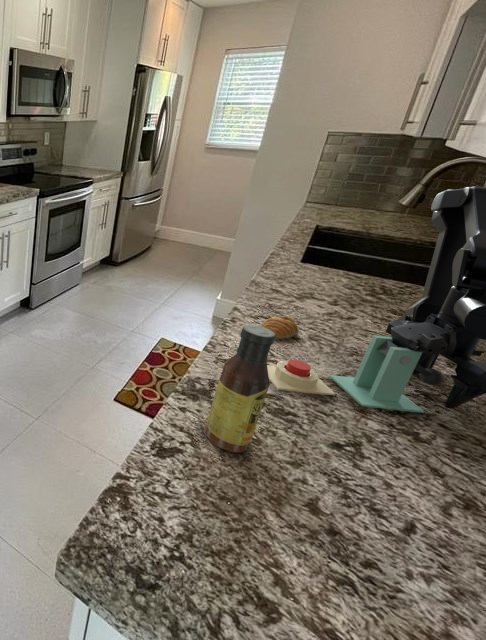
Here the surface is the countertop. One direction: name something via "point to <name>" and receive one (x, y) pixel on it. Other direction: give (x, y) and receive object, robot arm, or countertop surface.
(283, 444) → the countertop surface
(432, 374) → the press lever
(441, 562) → the countertop surface
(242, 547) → the countertop surface
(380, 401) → the lever bracket
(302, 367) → the button
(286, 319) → the pastry
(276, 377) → the button block
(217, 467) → the countertop surface
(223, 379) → the sauce bottle
